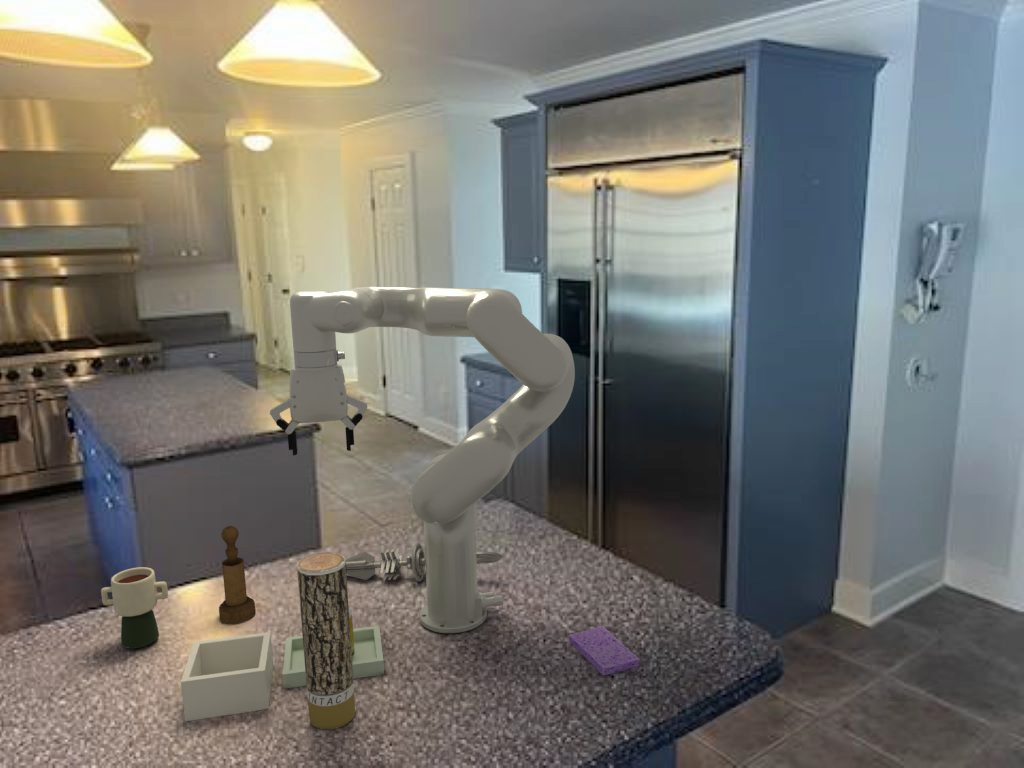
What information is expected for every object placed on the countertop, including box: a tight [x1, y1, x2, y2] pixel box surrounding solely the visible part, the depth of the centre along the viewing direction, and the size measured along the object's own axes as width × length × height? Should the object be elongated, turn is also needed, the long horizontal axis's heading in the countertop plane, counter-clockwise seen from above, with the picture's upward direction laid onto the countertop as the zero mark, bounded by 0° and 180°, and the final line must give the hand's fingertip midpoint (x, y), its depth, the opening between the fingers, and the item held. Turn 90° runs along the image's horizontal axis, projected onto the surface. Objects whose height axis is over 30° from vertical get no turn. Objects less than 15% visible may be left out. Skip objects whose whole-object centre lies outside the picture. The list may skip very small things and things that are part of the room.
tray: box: [282, 625, 385, 690], centre depth 131 cm, size 16×12×2 cm
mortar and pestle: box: [218, 525, 256, 625], centre depth 147 cm, size 7×6×18 cm
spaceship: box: [345, 542, 503, 583], centre depth 162 cm, size 8×35×8 cm
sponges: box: [568, 625, 640, 676], centre depth 133 cm, size 7×13×2 cm, turn 23°
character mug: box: [100, 566, 169, 649], centre depth 138 cm, size 11×7×13 cm, turn 102°
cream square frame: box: [180, 631, 275, 722], centre depth 123 cm, size 12×12×6 cm
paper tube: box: [296, 552, 356, 730], centre depth 114 cm, size 7×7×25 cm
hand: (322, 451), depth 143 cm, fingers open, 9 cm apart
